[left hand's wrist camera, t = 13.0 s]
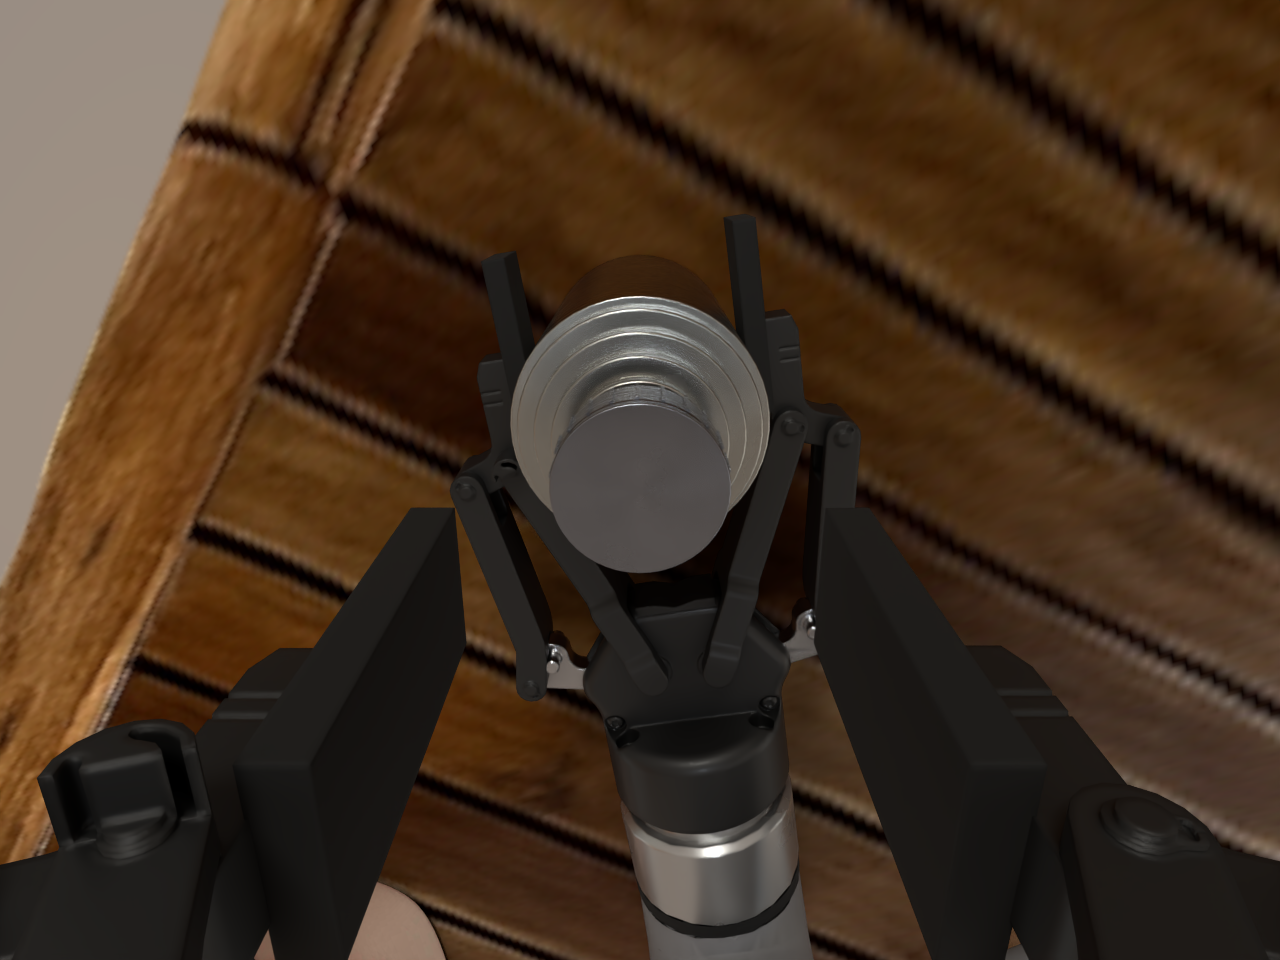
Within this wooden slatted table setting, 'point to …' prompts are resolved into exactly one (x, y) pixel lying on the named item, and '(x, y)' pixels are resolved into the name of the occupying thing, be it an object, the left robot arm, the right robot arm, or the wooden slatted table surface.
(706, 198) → the wooden slatted table surface
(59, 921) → the left robot arm
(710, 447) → the cap
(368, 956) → the anatomical model
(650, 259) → the bottle
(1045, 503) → the wooden slatted table surface
